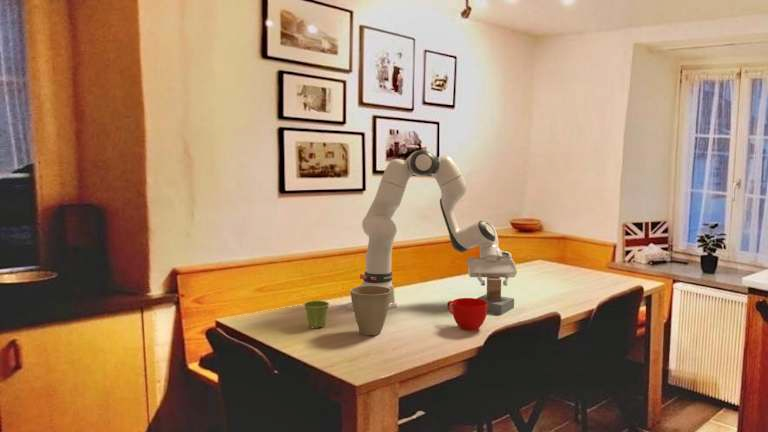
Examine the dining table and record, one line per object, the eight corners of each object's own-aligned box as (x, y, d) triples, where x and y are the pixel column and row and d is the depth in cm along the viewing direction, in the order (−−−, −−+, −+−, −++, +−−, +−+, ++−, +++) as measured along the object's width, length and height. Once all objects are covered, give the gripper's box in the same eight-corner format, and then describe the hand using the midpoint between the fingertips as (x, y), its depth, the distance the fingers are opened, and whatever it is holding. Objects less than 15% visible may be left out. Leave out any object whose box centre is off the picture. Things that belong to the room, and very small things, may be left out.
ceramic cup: (457, 319, 225) (458, 294, 224) (493, 328, 213) (494, 302, 212) (436, 325, 216) (437, 300, 215) (472, 336, 204) (473, 309, 203)
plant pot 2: (396, 337, 202) (396, 293, 201) (355, 340, 198) (355, 296, 196) (384, 324, 217) (384, 284, 215) (346, 328, 212) (346, 286, 211)
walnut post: (500, 300, 237) (501, 279, 236) (488, 300, 237) (489, 279, 236) (498, 297, 242) (498, 277, 241) (486, 297, 242) (487, 277, 241)
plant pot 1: (318, 331, 208) (318, 308, 207) (299, 327, 213) (298, 304, 212) (334, 325, 216) (333, 302, 215) (314, 321, 221) (314, 299, 220)
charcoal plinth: (501, 314, 231) (501, 305, 230) (472, 309, 238) (472, 300, 238) (513, 307, 241) (514, 298, 241) (485, 302, 249) (486, 294, 248)
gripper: (467, 253, 244) (470, 280, 236) (515, 253, 244) (519, 281, 235) (465, 261, 249) (468, 288, 240) (512, 261, 249) (516, 289, 240)
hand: (494, 284), depth 238 cm, fingers open, 8 cm apart
